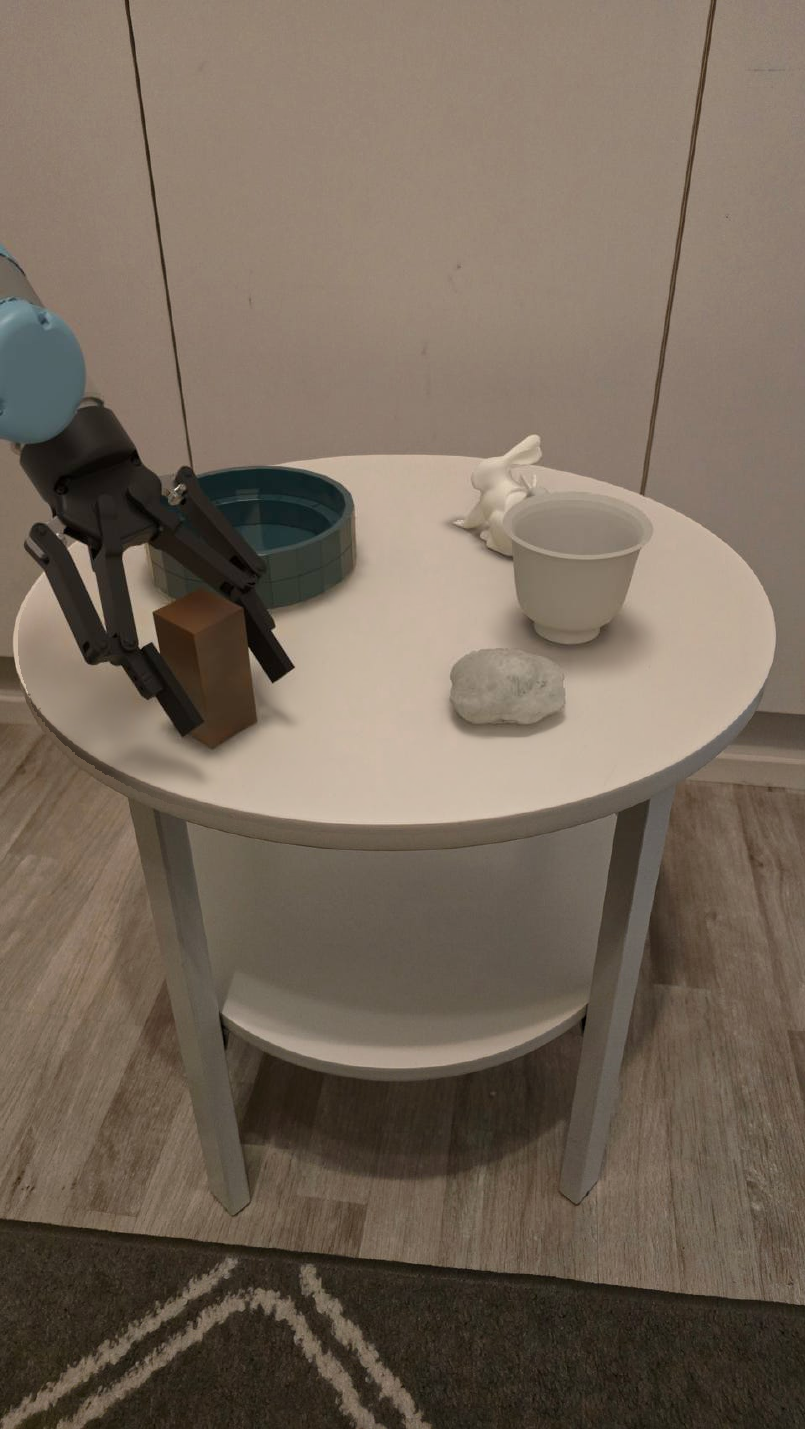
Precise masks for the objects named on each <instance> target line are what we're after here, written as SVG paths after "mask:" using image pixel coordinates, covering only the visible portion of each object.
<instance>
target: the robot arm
mask: <svg viewBox="0 0 805 1429" xmlns="http://www.w3.org/2000/svg"><path fill="white" fill-rule="evenodd" d="M85 361H86V360H85V356H84V353H83V350H82V347H81V345H80V343H79V340H78V338H77V337H76V335H75V333H74V331H73V330H72V328H71V327H70V326H69V325H68V324H67V322H66V321H64V320H63V319H62V318H61V317H60V316H59V315H57V314H56V313H54V312H53V311H51V310H49V309H47V308H46V306H45V305H44V303H43V302H42V300H41V299H40V297H39V295H38V294H37V292H36V291H35V289H34V288H33V286H32V285H31V283H30V281H29V280H28V278H27V274H26V272H25V271H24V269H23V267H22V266H21V264H20V263H19V262H18V261H17V260H16V259H15V258H13V256H12V255H11V254H10V252H9V251H8V249H7V248H6V247H5V246H4V244H3V243H2V242H1V241H0V440H3V441H4V442H5V444H6V445H7V447H8V448H9V450H10V451H11V452H12V453H13V454H15V455H17V456H19V465H20V467H21V469H22V470H23V471H24V473H25V474H26V476H27V478H28V479H29V481H30V483H32V485H33V486H34V488H35V490H36V491H37V493H38V494H39V496H40V498H41V499H42V501H44V502H45V503H46V504H47V505H48V506H49V508H50V511H51V515H52V516H51V519H49V520H47V521H45V522H35V523H33V525H31V528H30V530H29V532H28V533H27V536H26V538H25V539H24V540H23V541H24V542H23V548H24V550H25V551H26V552H27V553H28V554H29V555H30V557H31V558H32V559H33V560H34V561H35V562H36V563H37V564H38V566H40V568H41V569H42V570H43V571H44V574H45V576H46V579H47V581H48V583H49V585H50V587H51V590H52V592H53V594H54V596H55V598H56V600H57V602H58V605H59V607H60V609H61V612H62V614H63V616H64V618H65V621H66V622H67V625H68V627H69V629H70V630H71V633H72V636H73V638H74V640H75V642H76V644H77V646H78V649H79V651H80V653H81V655H82V658H83V660H84V661H85V663H86V664H88V665H89V666H92V667H93V666H94V667H95V666H99V665H100V664H101V663H110V664H111V665H112V666H113V667H121V668H122V669H123V671H124V672H125V673H126V675H127V677H128V678H129V680H130V681H131V682H132V684H133V686H134V687H135V689H136V690H137V692H138V693H139V695H140V696H141V697H142V698H144V699H145V700H146V701H148V702H149V701H150V700H152V699H153V698H155V699H156V700H157V703H159V706H161V708H162V710H163V711H164V712H165V714H166V716H167V717H168V718H169V720H170V721H171V722H172V725H173V724H174V725H173V726H174V728H175V729H176V730H177V732H178V733H179V736H180V737H181V738H185V737H186V736H188V734H189V733H191V732H192V731H193V730H195V729H196V728H197V727H199V726H200V725H201V724H202V723H204V722H205V721H204V720H203V718H202V717H201V715H200V714H199V712H198V711H197V709H196V708H195V706H194V705H193V703H192V702H191V700H190V699H189V697H188V696H187V694H186V693H185V691H184V690H183V688H182V686H181V685H180V683H179V682H178V680H177V679H176V677H175V676H174V674H173V673H172V671H171V670H170V668H169V667H168V665H167V664H166V662H165V661H164V659H163V658H162V656H161V655H160V651H159V650H158V649H157V647H156V646H155V644H154V643H153V641H150V642H148V643H147V644H145V645H143V646H142V647H141V648H140V642H139V635H138V630H137V626H136V621H135V620H136V619H135V615H134V611H133V607H132V601H131V596H130V590H129V585H128V581H127V576H126V571H125V566H124V561H123V556H124V553H125V552H126V551H127V550H128V549H129V548H130V547H138V546H142V545H144V544H145V543H148V544H150V545H151V546H152V547H154V548H155V549H157V550H163V551H165V552H166V553H167V554H169V555H170V556H171V557H173V558H174V559H175V560H177V561H178V562H179V563H180V564H182V565H183V566H184V567H186V568H187V569H188V570H190V571H191V572H192V573H193V574H195V575H196V576H197V577H199V578H200V579H201V580H203V581H204V582H205V583H207V584H208V585H209V586H210V587H212V588H213V589H214V590H216V591H217V592H218V593H220V594H221V595H222V596H224V597H225V598H226V599H227V600H229V601H230V602H232V603H234V604H237V605H239V606H241V607H243V610H244V618H245V626H246V634H247V642H248V650H250V652H251V654H252V655H253V657H254V659H256V661H257V663H258V664H259V666H260V667H261V668H262V670H263V672H264V673H265V675H266V676H267V678H268V679H269V681H270V682H271V684H274V683H276V682H278V681H279V680H281V679H282V678H284V677H285V676H286V675H287V674H288V673H290V672H291V671H293V670H294V669H295V668H296V666H295V665H294V663H293V662H292V660H291V659H290V657H289V656H288V654H287V652H286V651H285V649H284V648H283V646H282V644H281V643H280V642H279V640H278V639H277V637H276V635H275V634H274V632H273V630H274V629H275V628H276V622H275V620H274V618H273V616H272V614H271V613H270V612H269V611H268V610H269V609H268V610H267V609H266V607H265V606H264V604H263V603H262V601H261V600H260V598H259V596H258V595H257V593H256V591H255V586H256V585H257V584H258V581H259V579H260V578H261V577H262V576H263V575H264V574H265V572H266V570H267V567H266V565H265V563H264V562H263V561H262V559H261V558H260V557H259V556H258V555H257V554H256V553H255V551H254V550H253V549H252V548H251V547H250V546H249V544H248V543H247V542H246V541H245V540H244V539H243V537H242V536H241V535H240V534H239V533H238V532H237V530H236V529H235V528H234V527H233V526H232V525H231V524H230V522H229V521H228V520H227V519H226V518H225V517H224V515H223V514H222V513H221V512H220V511H219V510H218V508H217V507H216V506H215V505H214V504H213V503H212V502H211V500H210V499H209V498H208V497H207V496H206V495H205V493H204V492H203V490H202V488H201V486H200V484H199V482H198V479H197V477H196V475H197V474H196V473H195V471H194V469H193V468H191V467H190V466H189V465H182V466H181V467H179V469H178V470H177V472H175V473H170V474H164V475H160V476H159V475H157V474H156V473H155V472H154V471H152V470H151V469H149V467H147V466H146V465H145V464H144V463H143V461H142V459H141V458H140V455H139V452H138V449H137V446H136V444H135V443H134V442H133V440H132V438H131V437H130V435H129V434H128V432H127V431H126V429H125V428H124V426H123V425H122V423H121V422H120V420H119V418H118V417H117V416H116V413H115V412H114V411H113V410H112V409H111V408H108V407H106V406H105V404H106V399H105V396H104V395H103V393H102V391H101V390H100V388H99V387H98V386H97V385H96V384H97V383H95V381H94V380H93V378H92V376H91V375H90V374H89V373H88V371H87V369H86V362H85ZM162 495H164V496H166V497H167V498H168V499H169V500H168V502H169V504H170V505H175V504H176V506H177V508H178V510H179V512H180V513H181V515H182V516H183V517H184V518H185V520H186V521H187V522H188V523H189V524H190V525H191V527H192V528H193V529H194V530H195V531H196V532H197V533H198V535H199V536H200V537H201V538H202V539H203V540H204V541H205V542H204V541H202V540H201V539H200V538H199V537H197V536H196V535H195V534H193V533H192V532H191V531H190V530H188V529H187V528H186V527H185V526H183V524H182V521H181V519H180V518H179V517H178V516H177V515H176V514H174V513H173V512H172V511H170V510H169V509H168V508H167V507H165V506H164V505H163V504H162ZM160 525H161V526H162V528H163V530H162V531H161V530H159V527H160ZM66 536H67V537H69V538H71V539H73V540H75V541H77V542H78V543H81V544H83V545H86V546H87V550H88V556H89V560H90V567H91V570H92V572H93V573H94V575H95V579H96V584H97V590H98V595H99V600H100V605H101V611H102V615H103V620H104V624H103V622H102V619H101V617H100V616H99V613H98V611H97V609H96V607H95V605H94V603H93V600H92V598H91V595H90V593H89V591H88V589H87V587H86V585H85V582H84V580H83V578H82V576H81V573H80V572H79V569H78V566H77V565H76V563H75V560H74V558H73V556H72V554H71V552H70V551H69V549H68V548H67V544H68V540H67V538H66Z"/></svg>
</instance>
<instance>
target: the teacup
mask: <svg viewBox="0 0 805 1429" xmlns="http://www.w3.org/2000/svg"><path fill="white" fill-rule="evenodd" d="M503 528H504V530H505V532H506V533H507V534H508V536H509V537H510V538H511V542H512V550H513V556H512V563H513V577H514V578H513V579H514V586H515V594H516V598H517V601H518V604H519V606H520V608H521V610H522V611H523V613H524V614H525V615H526V616H527V618H529V619H531V620H532V621H533V629H534V631H535V633H536V634H537V635H539V636H540V637H541V638H543V639H545V640H547V641H549V642H552V643H555V644H560V645H579V644H585V643H587V642H590V641H593V640H594V639H595V638H597V637H598V635H599V634H600V632H601V627H603V626H605V625H606V624H608V623H609V622H611V621H612V620H613V619H615V618H616V617H617V615H618V614H619V612H620V611H621V609H622V607H623V606H624V603H625V601H626V598H627V596H628V592H629V589H630V586H631V582H632V579H633V575H634V572H635V569H636V568H635V567H636V564H637V561H638V558H639V555H640V553H641V550H642V548H643V547H644V546H646V545H647V544H648V543H649V542H650V541H651V539H652V537H653V535H654V526H653V523H652V521H651V520H650V519H649V517H648V516H647V515H646V514H645V512H644V511H642V510H641V509H639V508H638V507H637V506H634V505H633V504H631V503H629V502H626V501H624V500H621V499H618V498H616V497H612V496H608V495H604V494H600V493H594V492H586V491H556V492H549V491H548V490H547V488H545V487H544V486H539V485H538V486H536V487H533V488H531V489H530V490H529V491H528V492H527V494H526V497H525V499H524V500H522V501H520V502H518V503H517V504H515V505H514V506H513V507H511V508H510V509H509V510H508V511H507V513H506V514H505V516H504V518H503Z"/></svg>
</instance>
